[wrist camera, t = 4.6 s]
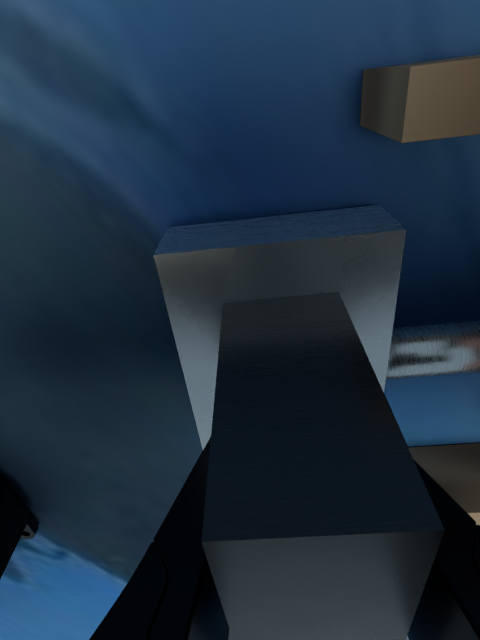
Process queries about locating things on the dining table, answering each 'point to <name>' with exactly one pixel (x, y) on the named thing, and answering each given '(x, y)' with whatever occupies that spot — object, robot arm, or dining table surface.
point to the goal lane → (419, 125)
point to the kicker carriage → (307, 419)
